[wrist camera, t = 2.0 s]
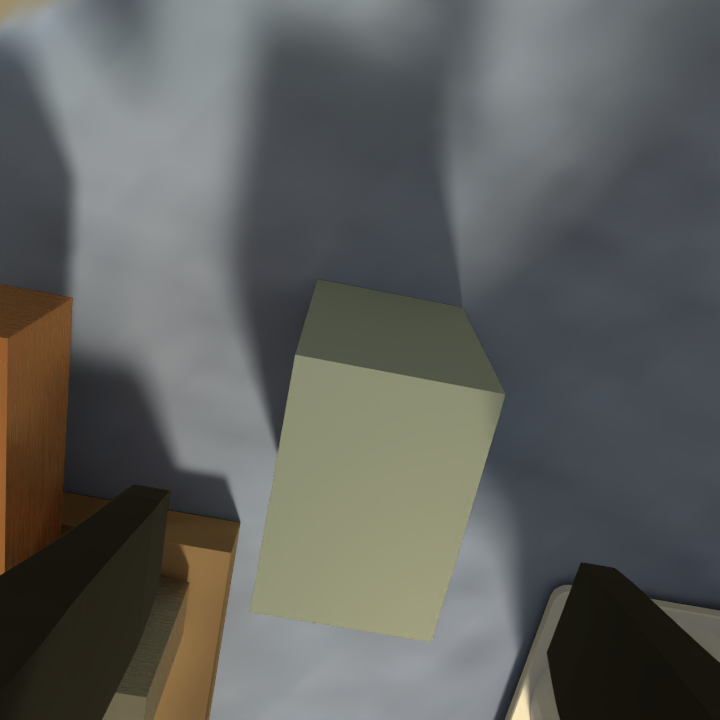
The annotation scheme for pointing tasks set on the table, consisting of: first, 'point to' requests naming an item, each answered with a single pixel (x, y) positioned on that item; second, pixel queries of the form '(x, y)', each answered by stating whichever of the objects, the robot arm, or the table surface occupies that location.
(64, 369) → the clamp jaw
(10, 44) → the table surface
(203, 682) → the press
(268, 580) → the block
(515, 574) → the table surface
